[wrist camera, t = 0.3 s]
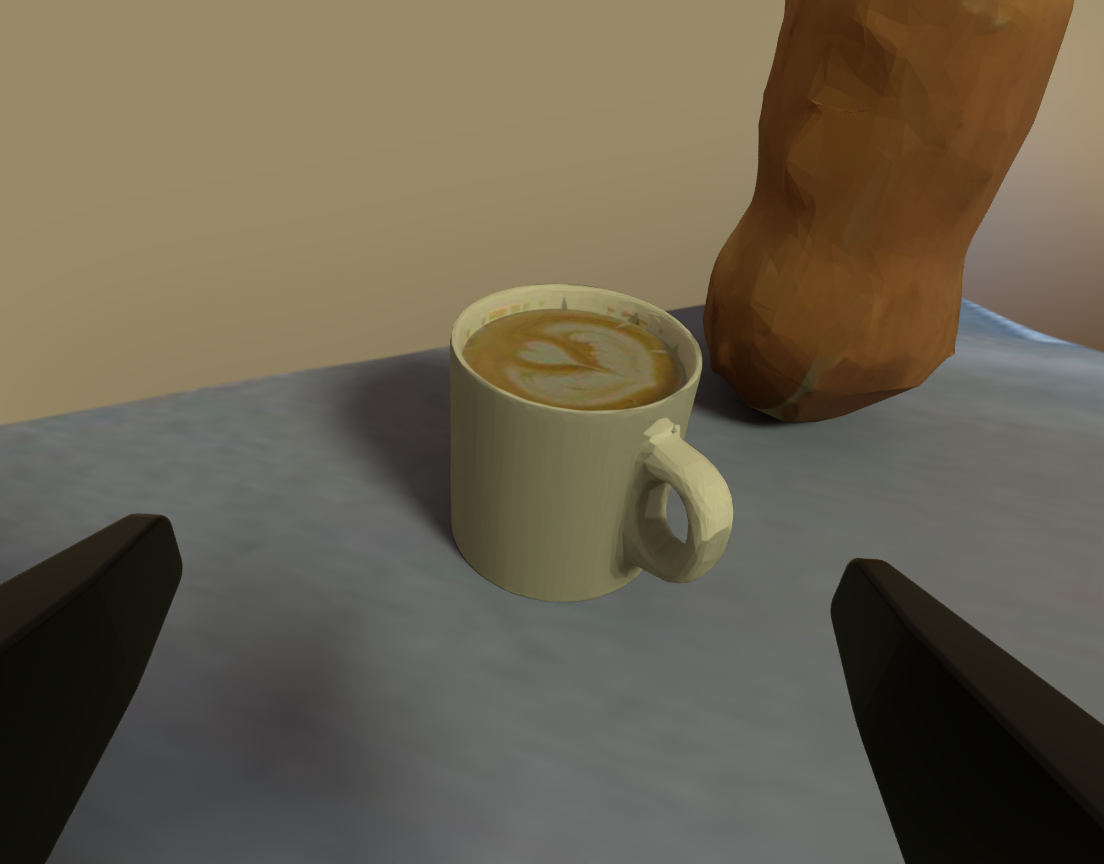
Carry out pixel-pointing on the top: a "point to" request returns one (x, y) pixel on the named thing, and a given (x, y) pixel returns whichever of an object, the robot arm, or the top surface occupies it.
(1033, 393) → the top surface
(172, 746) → the top surface
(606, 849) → the top surface
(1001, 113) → the butternut squash
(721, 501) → the coffee mug
